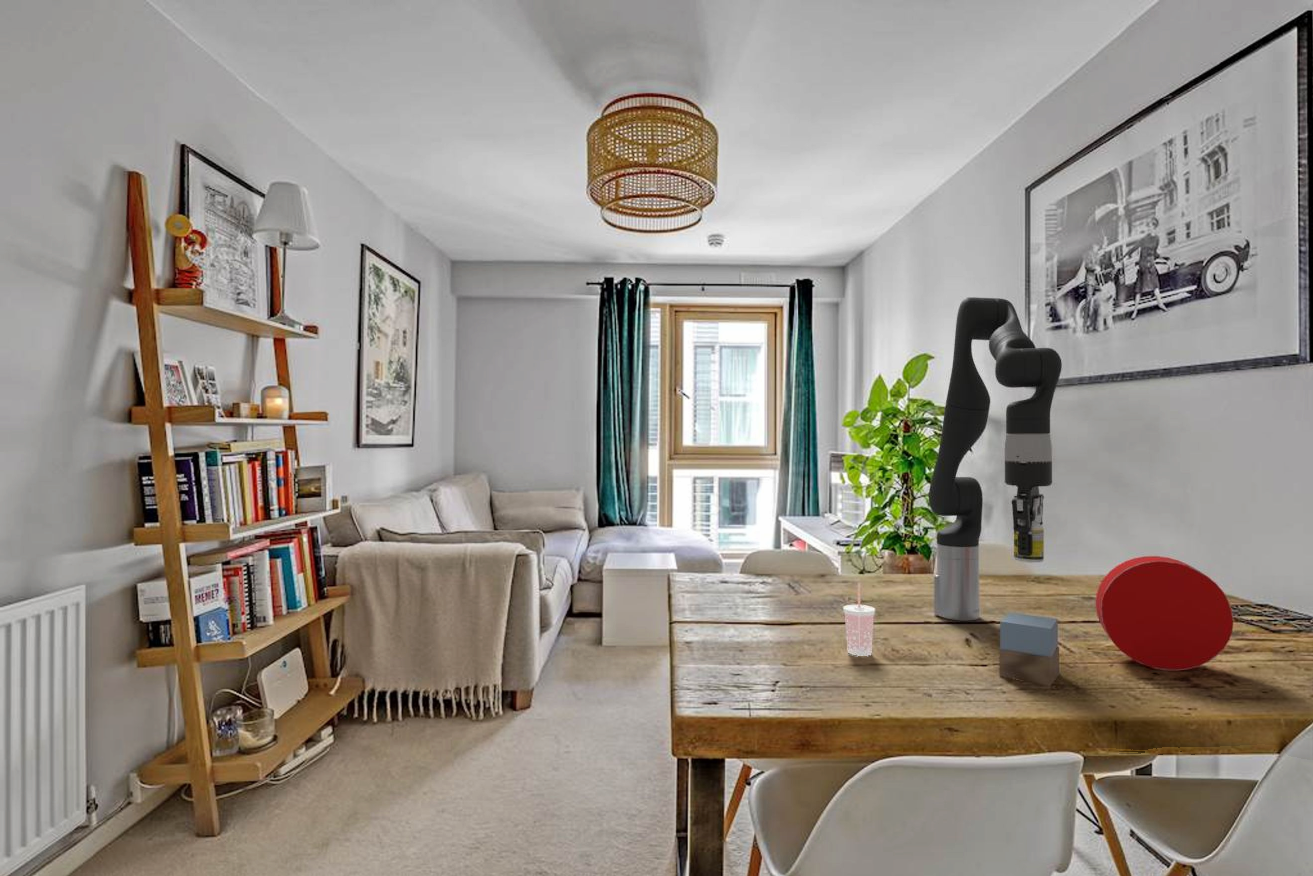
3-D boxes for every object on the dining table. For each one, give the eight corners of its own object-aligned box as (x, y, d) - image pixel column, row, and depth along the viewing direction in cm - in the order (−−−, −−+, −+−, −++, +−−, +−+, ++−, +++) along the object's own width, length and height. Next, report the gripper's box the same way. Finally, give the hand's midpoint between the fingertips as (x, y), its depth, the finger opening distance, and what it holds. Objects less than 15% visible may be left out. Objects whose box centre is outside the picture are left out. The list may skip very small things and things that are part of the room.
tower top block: (1000, 649, 124) (1000, 621, 124) (1009, 638, 130) (1009, 612, 130) (1051, 657, 119) (1050, 628, 119) (1057, 646, 125) (1057, 618, 125)
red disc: (1222, 667, 128) (1221, 559, 127) (1233, 677, 122) (1233, 565, 122) (1095, 654, 136) (1095, 552, 136) (1101, 663, 130) (1100, 557, 130)
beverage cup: (875, 650, 139) (875, 580, 139) (875, 659, 134) (874, 587, 133) (844, 647, 141) (844, 579, 141) (842, 656, 136) (842, 585, 135)
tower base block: (999, 676, 124) (999, 649, 124) (1010, 665, 130) (1010, 639, 130) (1049, 687, 119) (1049, 658, 119) (1059, 674, 125) (1059, 647, 125)
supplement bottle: (1008, 558, 127) (1008, 512, 127) (1032, 557, 127) (1032, 512, 127) (1024, 563, 122) (1024, 515, 122) (1049, 562, 122) (1049, 515, 122)
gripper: (1014, 457, 132) (1014, 546, 132) (995, 460, 121) (995, 556, 121) (1059, 458, 127) (1059, 550, 127) (1043, 460, 116) (1043, 561, 116)
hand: (1028, 552), depth 124 cm, fingers closed on supplement bottle, 4 cm apart
